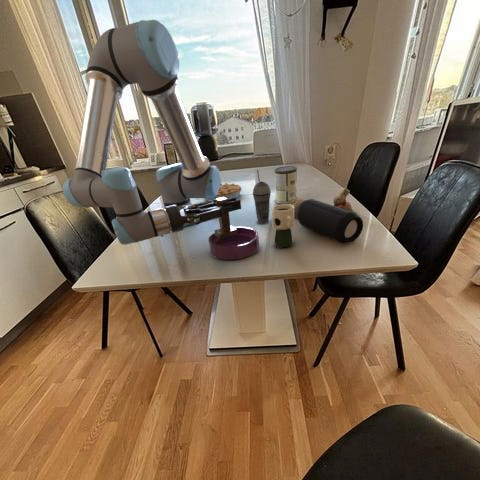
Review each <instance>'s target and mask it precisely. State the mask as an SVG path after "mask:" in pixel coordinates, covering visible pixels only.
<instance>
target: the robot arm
mask: <svg viewBox="0 0 480 480" xmlns="http://www.w3.org/2000/svg"><path fill="white" fill-rule="evenodd" d="M179 72H180V59H179V52H178V49H177V46H176V43H175V41H174V39H173V37H172V34H171V33H170V30H169V29H168V28H167V27H166V26H165V25H164V24H163V23H162V22H160V21H159V20H157V19H147V20H146V19H142V20H138V21H136V22H133V23H129V24H125V25H122V26H117V27H112V28H109V29H107V30H106V31H104V32H103V33H102V34H101V35H100V36H99V37H98V39H97V41H96V42H95V44H94V45H93V48H92V51H91V53H90V55H89V59H88V62H87V67H86V71H85V83H86V84H87V92H86V100H85V106H84V111H83V118H82V124H81V130H80V135H79V136H80V137H79V142H78V149H77V154H76V155H77V156H76V162H75V167H74V173H73V177H72V178H71V177H70V178H68V179H67V180H65V181H64V182H63V185H62V193H63V196H64V198H65V200H66V201H67V202H68V203H69V204H70V205H72V206H73V207H79V208H86V209H87V208H88V209H89V208H112V209H113V211H114V214H115V215H116V217H115V218H113V219H112V220H111V225H112V228H113V231H114V233H115V235H116V239H117V241H118V243H120V244H121V245H125V246H126V245H130V244H135V243H139V242H143V241H146V240H150V239H153V238H157V237H161V238H163V237H164V235H169V234H171V232H172V233H178V232H181V231H183V230H184V228H185V227H189V226H193V225H194V226H197V225H200V224H202V223H205V222H209V221H213V220H215V219H219V217H223V213H227V212H229V213H231V212H234V211H235V212H236V211H238V210H241V209H242V203H241V202H242V201H241V199H237V198H236V197H234V198H230V199H227V203H224V204H221V205H220V206H217V204H216V199H213V202H212V201H207V200H206V199H208V198H214V197H216V195H217V194H218V191H219V187H220V184H221V175H220V174H221V173H220V169H219V167H218V166H216V165H214V164H213V165H211V162H210V160H209V158H208V157H207V156H205V155H203V152H202V149H201V147H200V144H199V143H198V140H197V137H196V134H195V132H194V129H193V127H192V124H191V122H190V119H189V116H188V113H187V111H186V108H185V105H184V103H183V101H182V100H183V99H182V98H181V95H180V93H179V90H178V88H177V84H178V82H179V76H178V74H179ZM134 84H135V85H136V84H137V85H138V87H139V88H140V91H141V93H142V95H143V96H144V97H146V98H149V99H150V101H151V102H152V104H153V106H154V108H155V111H156V113H157V115H158V117H159V120H160V121H161V123H162V125H163V128H164V129H165V130H164V131H165V133H166V134H167V136H168V138H169V140H170V142H171V145H172V147H173V149H174V152H175V153H176V155H177V157H178V160H179V162H177V163H173V164H169V165H166V166H162V167H160V168H158V169H157V170H156V172H155V175H156V181H157V184H158V188H159V192H160V196H161V200H162V202H163V206H164V208H163V207H159V208H155V209H151V210H147V211H144V208H143V205H142V201H141V198H140V195H139V191H138V188H137V184H136V182H135V179H134V178H133V174H132V172H131V170H130V169H129V168H128V167H125V166H119V167H111V168H108V169H107V167H108V159H109V154H110V148H111V143H112V142H111V141H112V136H113V128H114V122H115V117H116V112H117V111H116V110H117V106H118V105H117V104H118V101H120V100H121V99H122V96H123V91H124V89H125V88H126V87H127V86H129V85H134ZM191 199H205V200H206V201H203V202H197V203H193V204H192V202H191Z"/></svg>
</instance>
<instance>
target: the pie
mask: <svg viewBox="0 0 480 480" xmlns="http://www.w3.org/2000/svg"><path fill="white" fill-rule="evenodd" d="M242 190H243V188H242V187H241V185H240V184H235V183H227V182H226V183H224V184H223V183H220V187H219V191H218V194H217V195H216V197H214V198H208V199H206V198H205V200H206V202H207V201H212V202H213V199H217V198H221V197H225V198H226V199H230V198H234V197H236V199H237V198H239V197H240V193H241V192H242Z"/></svg>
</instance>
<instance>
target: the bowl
mask: <svg viewBox="0 0 480 480" xmlns="http://www.w3.org/2000/svg"><path fill="white" fill-rule="evenodd" d="M233 227H234V228H236V229H237V234H238V237H234V238H231V239H227V240H224V241H219V240H218V239H217V238H216V237H215V232H213V233H212V234H210V236H209V237H208V246H209V252H210V254H211V256H213V257H214V258H216V259H219V260H230V261H231V260H232V261H233V260H239V259H243V258H247V257H249V256H252V255H254V254H255V253H257V252H258V250H259V249H260V240H259V232H258V231H257V230H256V229H254V228H251V227H247V226H233Z"/></svg>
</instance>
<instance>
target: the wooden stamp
mask: <svg viewBox="0 0 480 480" xmlns="http://www.w3.org/2000/svg"><path fill="white" fill-rule="evenodd" d="M224 203H227V199H226V198H225V197H221V198H217V199H216V204H217V206H220V205H221V204H224ZM218 225H219V228H217V229H214V233H215V237H216V238H217V239H218V240H219V241H224V240H227V239H231V238H234V237H238V234H237V229H236V228H234V227H235V226H233V225H231V219H230V212H227V213H223V217H219V218H218Z"/></svg>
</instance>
